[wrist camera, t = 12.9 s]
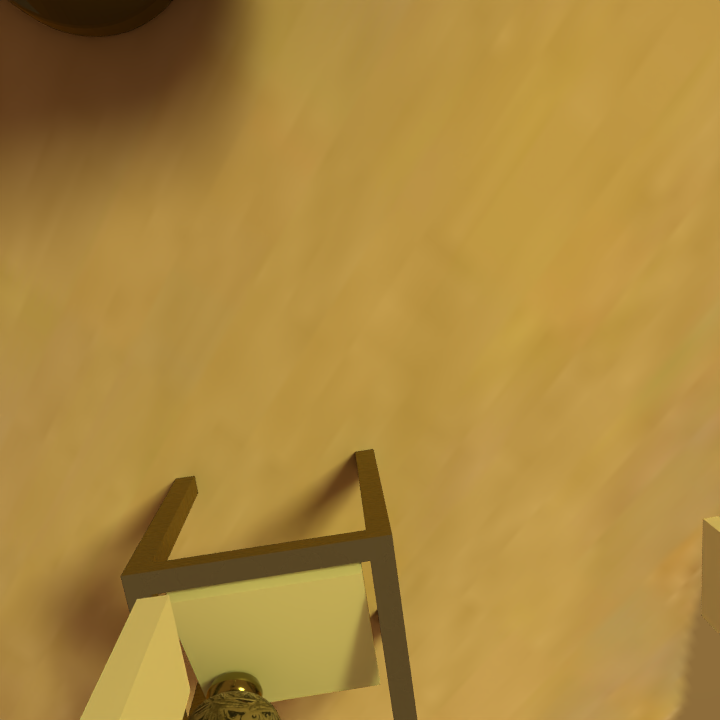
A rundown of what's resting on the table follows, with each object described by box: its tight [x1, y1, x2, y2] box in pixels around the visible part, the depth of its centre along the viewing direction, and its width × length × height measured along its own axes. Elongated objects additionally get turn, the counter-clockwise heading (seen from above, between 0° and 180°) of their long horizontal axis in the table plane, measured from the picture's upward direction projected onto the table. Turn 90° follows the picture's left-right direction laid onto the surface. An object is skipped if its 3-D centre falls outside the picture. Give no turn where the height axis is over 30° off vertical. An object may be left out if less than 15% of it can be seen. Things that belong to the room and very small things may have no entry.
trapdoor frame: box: [121, 449, 417, 720], centre depth 45 cm, size 16×16×14 cm
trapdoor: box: [166, 562, 380, 702], centre depth 40 cm, size 12×12×1 cm
